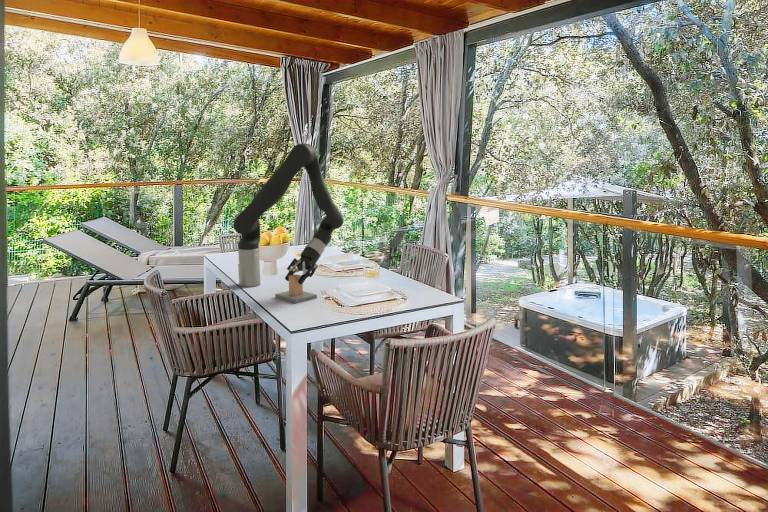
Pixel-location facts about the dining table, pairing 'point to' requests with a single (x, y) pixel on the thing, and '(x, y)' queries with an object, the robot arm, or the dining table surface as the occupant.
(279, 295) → the slate tile
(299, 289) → the terracotta block
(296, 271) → the robot arm
